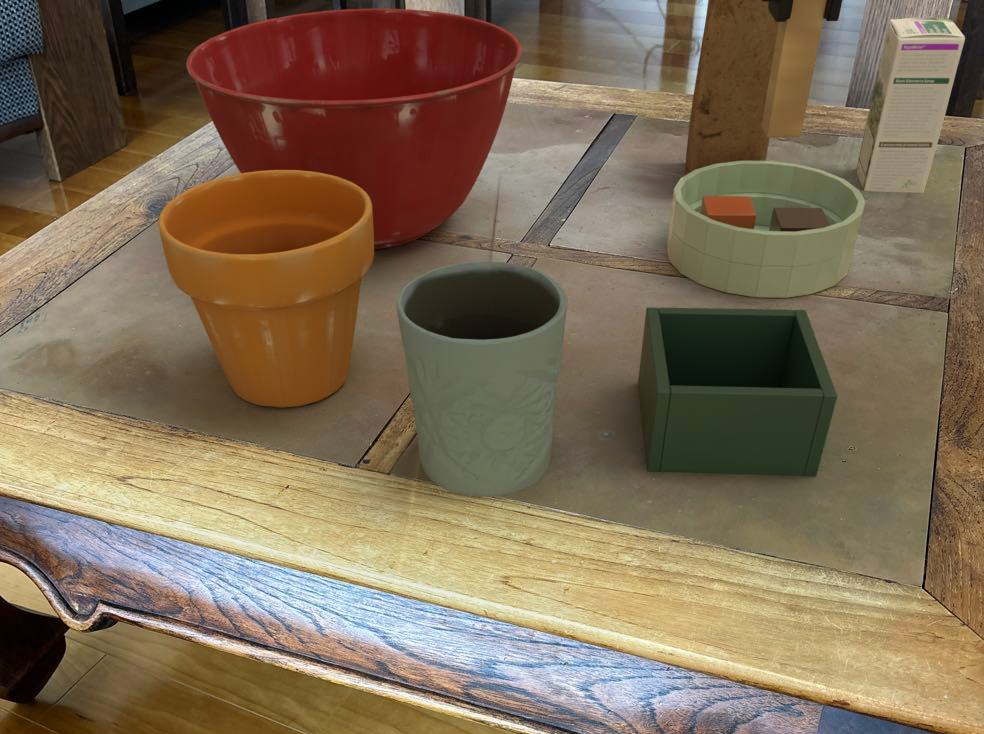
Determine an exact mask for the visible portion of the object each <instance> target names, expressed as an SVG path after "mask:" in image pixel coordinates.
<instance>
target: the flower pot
mask: <svg viewBox="0 0 984 734" xmlns="http://www.w3.org/2000/svg"><path fill="white" fill-rule="evenodd" d="M157 224H158V225H157V226H158V231H159V235H160V239H161V244H162V249H163V252H164V257H165V260H166V265H167V267H168V271H169V275H170V277H171V279H172V281H173V283H174V284H175V285H176V287H177V288H178V289H179V290H180V291H181V292H183V293H184V294H186V295H187V296H189V297H190V298H191V299H190V300H191V301H192V303H193V306H194V307H195V309H196V311H197V314H198V316H199V319H200V321H201V323H202V325H203V328H204V330H205V332H206V334H207V336H208V339H209V342H210V343H211V346H212V348H213V350H214V353H215V355H216V356H217V359H218V361H219V363H220V365H221V367H222V370H223V372H224V374H225V376H226V379H227V381H228V383H229V385H230V387H231V389H232V391H233V392H234V393H235V394H236V395H237V396H238V397H239V398H240V399H242V400H244V401H246V402H248V403H251V404H254V405H257V406H262V407H274V408H295V407H298V406H299V407H300V406H306V405H309V404H311V403H316V402H319V401H321V400H323V399H325V398H328V397H330V396H331V395H332V394H334V393H336V392H337V391H338V390H339V389H341V387H342V386H343V385H344V384H345V383H346V381H347V379H348V377H349V376H348V375H349V371H350V366H351V360H352V351H353V346H354V345H353V344H354V339H355V338H354V337H355V332H356V331H355V330H356V324H357V316H358V308H359V299H360V291H361V285H362V284H361V283H362V278H363V277H364V276H366V274H367V273H368V272H369V270H370V268H371V266H372V265H373V261H374V258H375V249H374V228H373V212H372V202H371V200H370V198H369V196H368V195H367V193H366V192H365V191H364V190H363V189H362V188H360V187H359V186H357V185H356V184H354V183H352V182H350V181H347V180H345V179H342V178H339V177H336V176H332V175H328V174H323V173H318V172H311V171H300V170H268V171H256V172H248V173H242V174H241V173H237V174H231V175H226V176H223V177H219V178H215V179H212V180H210V181H206V182H203V183H201V184H198V185H195V186H193V187H191V188H189V189H187V190H185V191H183V192H181V193H180V194H178V195H177V196H175V197H174V198H172V199H171V200H170V201H169V202H167V204H166V205H165V206H164V207H163V209H162V210H161V211H160V214H159V217H158V222H157Z"/></svg>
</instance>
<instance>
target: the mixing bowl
mask: <svg viewBox="0 0 984 734" xmlns="http://www.w3.org/2000/svg"><path fill="white" fill-rule="evenodd" d="M522 55H523V48H522V45H521V43H520V41H519V39H518V38H517V37H515V35H514V34H512V33H511V32H509V31H508V30H506V29H504V28H502V27H500V26H498V25H496V24H493V23H490V22H487V21H486V20H485V21H484V20H481V19H477V18H474V17H469V16H466V15H461V14H455V13H448V12H440V11H432V10H423V9H409V8H408V9H407V8H402V9H401V8H352V9H349V8H348V9H334V10H323V11H313V12H306V13H298V14H291V15H285V16H281V17H280V16H279V17H275V18H270V19H265V20H260V21H256V22H253V23H248V24H245V25H242V26H238V27H236V28H233V29H230V30H227V31H225V32H221V33H220V34H217V35H216V36H213V37H210V38H209V39H207V40H206V41H204V42H202V43H201V44H199V45H198V46H197V47H195V48H194V49H193V50H192V51H191V52H190V53H189V55H188V56H187V59H186V65H185V66H186V69H187V72H188V74H189V76H190V77H191V78H192V79H193V80H194V81H195V84H196V86H197V89H198V91H199V93H200V96H201V98H202V101H203V103H204V106H205V107H206V110H207V112H208V114H209V116H210V119H211V121H212V123H213V125H214V128H215V130H216V131H217V133H218V136H219V137H220V140H221V142H222V143H223V146H224V147H225V149H226V151H227V152H228V155H229V156H230V158H231V160H232V161H233V163H234V164H235V166H236V168H237V170H238V171H239V174H242V173H248V172H256V171H268V170H300V171H311V172H318V173H323V174H328V175H332V176H336V177H339V178H342V179H345V180H347V181H350V182H352V183H354V184H356V185H357V186H359V187H360V188H362V189H363V190H364V191H365V192H366V193H367V195H368V196H369V198H370V200H371V202H372V212H373V228H374V250H378V249H380V250H381V249H385V248H391V247H398V246H401V245H405V244H408V243H412V242H413V241H416V240H418V239H420V238H422V237H423V236H426V235H427V234H429V233H430V232H431V231H432V230H434V229H435V228H437V227H439V226H440V225H442V224H443V223H444V222H446V221H448V220H449V219H450V218H451V217H452V216H454V214H455V213H456V212H457V211H458V209H459V208H460V207H461V206H462V205H463V203H465V201H466V199H467V197H468V196H469V194H470V193H471V191H472V189H473V187H474V186H475V184H476V182H477V180H478V178H479V176H480V174H481V172H482V170H483V167H484V165H485V163H486V161H487V159H488V156H489V154H490V152H491V150H492V147H493V144H494V141H495V140H496V137H497V134H498V132H499V129H500V126H501V122H502V120H503V116H504V114H505V109H506V106H507V102H508V100H509V99H508V98H509V95H510V91H511V87H512V84H513V79H514V74H515V71H516V66H517V65H518V64H519V62H520V60H521V58H522Z"/></svg>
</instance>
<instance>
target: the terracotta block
mask: <svg viewBox="0 0 984 734" xmlns="http://www.w3.org/2000/svg"><path fill="white" fill-rule="evenodd" d="M700 214H702V215H704V216H706V217H708V218H710V219H712V220H715V221H718V222H722V223H725V224H729V225H732V226H736V227H740V228H747V229H754V226H755V220H756V213H755V210H754V207H753V205H752V202H751V199H750V196H703V198H702V206H701V213H700Z"/></svg>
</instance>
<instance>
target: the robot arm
mask: <svg viewBox="0 0 984 734" xmlns="http://www.w3.org/2000/svg"><path fill="white" fill-rule="evenodd" d="M762 1H763V2H768V10H769V12H770V13H771V15H772V16H773V18H774V20H775V21H776V22H786V20H787V19H790V17H791V12H792V6H793V0H762ZM842 4H843V0H826V5H825V11H824V16H823V18H824V20H825V21H826V22H838V21H839V18H840V14H841V10H842Z"/></svg>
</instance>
